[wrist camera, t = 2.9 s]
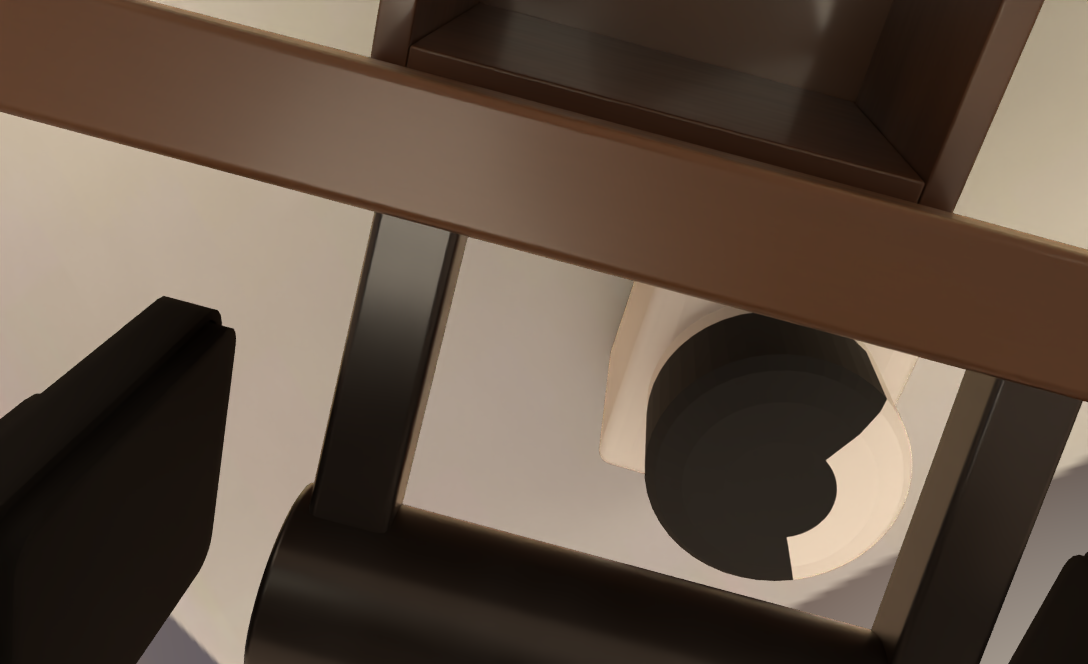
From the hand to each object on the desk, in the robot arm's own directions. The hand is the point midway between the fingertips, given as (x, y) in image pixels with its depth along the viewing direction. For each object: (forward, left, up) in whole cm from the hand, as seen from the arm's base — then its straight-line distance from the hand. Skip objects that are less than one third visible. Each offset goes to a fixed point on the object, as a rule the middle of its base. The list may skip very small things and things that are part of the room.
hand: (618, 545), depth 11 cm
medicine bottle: (+4, +6, -23) cm, 24 cm away
